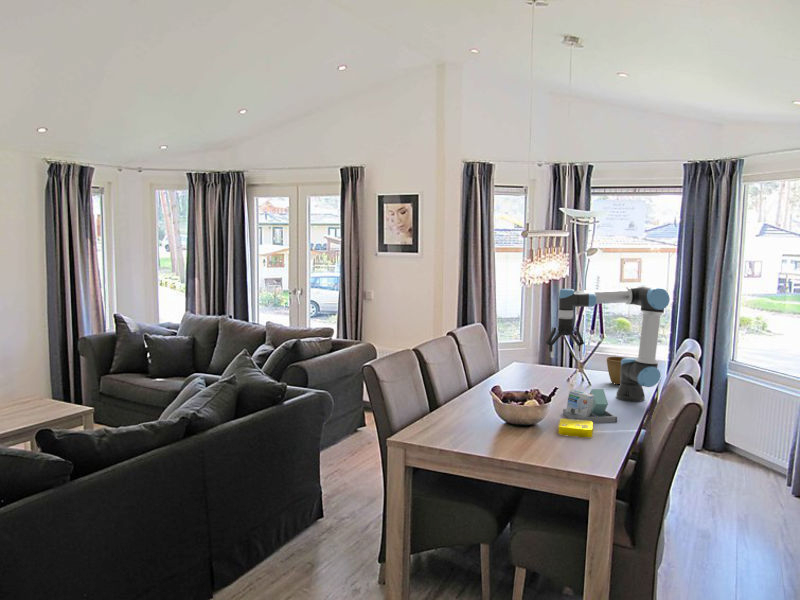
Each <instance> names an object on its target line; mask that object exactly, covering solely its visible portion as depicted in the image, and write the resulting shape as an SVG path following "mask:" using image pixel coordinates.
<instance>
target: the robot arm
mask: <svg viewBox="0 0 800 600" xmlns="http://www.w3.org/2000/svg"><path fill="white" fill-rule="evenodd" d="M623 303H624V304H625V305H633V306H634V305H635V306H640V312H641V313H642V322H641V330H640V340H639V348H638V357H637V358H632V357H631V358H629V357H624V359H622V360H621V375H620V385H618V389H617V391H616V395H615V397H616V399H618V400H621V401H625V400H626V402H642V401H643V402H644V401H645V400H646V395H645V392H644V388H643V387H645V388H652V387H654V386H657V384H658V383H659V381H660V380H661V378H662V377H661V375H662V374H661V371H660V369H659V368H658V365H659V364H658V361H657V360H656V355H657V348H658V347H657V345H658V338H659V331H660V329H659V328H660V322H661V316H662V314H664V312H665V309H666V308H667V307H668V306H669V304H670V294H669V292H668V291H667V290H666V289H665V288H663V287H659V286H653V285H639V286H628V287H627V286H626V287H625V288H623V289H621V288H620V289H618V288H617V289H592V290H591V289H590V290H588V289H587V290H574V289H573V288H561V289H559V294H558V320H557V321H558V323H557V324H558V326H557V327H555V326H552V328H551V332H550V333H549V336H547V337H548V338H547V339H546V342H545V344H546V345H547V346H549V347H548V350H549V352H550V358H551V359H555V358H554V357H555V343H556V342H557V341H558V340H559V339H560V337H562V336H563V337H564V336H565V337H566V336H567V337H568V336H570V337H571V339H572V340H573V342H575V346H574V347H575V353H574V355H575V356H574V357H575V358H577V359H579V357H580V356H579V354H580V353H579V352H581V346H582V345H585V342H584V340H583V337H582V335H581V332H580V328H579V327H578V326H574V319H573V318H574V309H575V308H577V307H578V308H579V307H581V308H589V307H594V306H596V305H597V304H623ZM573 331H574V332H575V334H576V336H575V334H574V333H573ZM556 332H557V333H556Z"/></svg>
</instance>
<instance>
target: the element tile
mask: <svg viewBox="0 0 800 600" xmlns="http://www.w3.org/2000/svg"><path fill="white" fill-rule="evenodd" d="M557 426H558V430H557V431H558V432H557V433H559V434H561V435H560V436H564V435H568V436H567V437H573V436H578V437H577V438H583V437H592V438H593V436H592V435H593V434H594V432H593V431H594V423H593V422H592V421H585V420H575V419H569V418H560V419H559V422H558V425H557ZM559 434H558V435H559Z"/></svg>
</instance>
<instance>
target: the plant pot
mask: <svg viewBox="0 0 800 600" xmlns="http://www.w3.org/2000/svg"><path fill="white" fill-rule="evenodd" d="M624 358H625V357H622V356H608V357H606V366H607V371H608V376H609V380H610V382H612V383H615V384H620V375H621V360H622V359H624ZM612 383H611V384H612ZM615 384H614V385H615Z"/></svg>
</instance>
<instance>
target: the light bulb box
mask: <svg viewBox="0 0 800 600" xmlns="http://www.w3.org/2000/svg"><path fill="white" fill-rule="evenodd" d="M593 399H594V395H593V394H590V392H589V393H588V392H585V391H581V390H577V389H572V390H569V392H568V399H567V402H566V403H567V404H566V408H565V409H566V411H567V412H570V413H573V414H577V415H580V416H583V417H588V416H590V415H591V410H592V404H593Z"/></svg>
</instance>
